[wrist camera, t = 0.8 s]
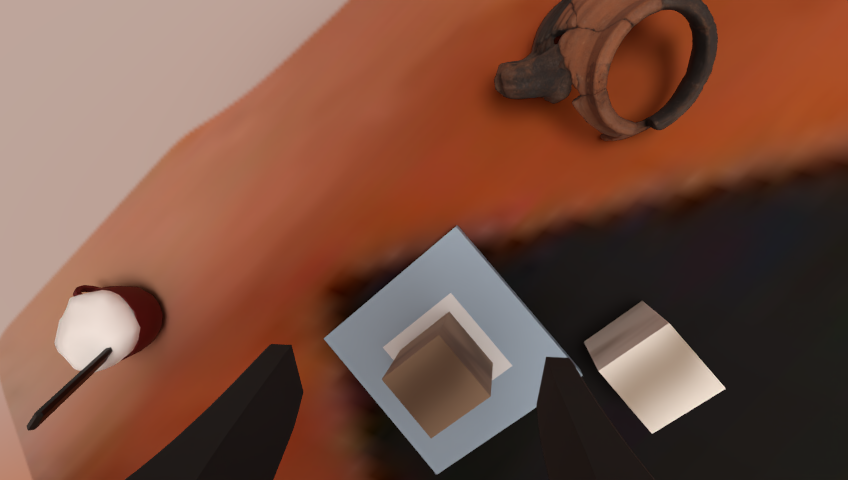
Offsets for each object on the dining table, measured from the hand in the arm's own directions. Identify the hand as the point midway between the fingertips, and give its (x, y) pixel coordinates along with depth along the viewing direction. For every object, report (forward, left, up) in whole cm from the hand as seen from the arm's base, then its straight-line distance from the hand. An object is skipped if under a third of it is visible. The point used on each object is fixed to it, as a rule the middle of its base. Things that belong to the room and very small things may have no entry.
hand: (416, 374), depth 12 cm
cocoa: (+15, +26, -20) cm, 36 cm away
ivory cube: (-12, -5, -20) cm, 24 cm away
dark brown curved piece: (+5, -14, -20) cm, 25 cm away
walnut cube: (-4, +6, -19) cm, 20 cm away
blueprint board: (-4, +6, -20) cm, 21 cm away
